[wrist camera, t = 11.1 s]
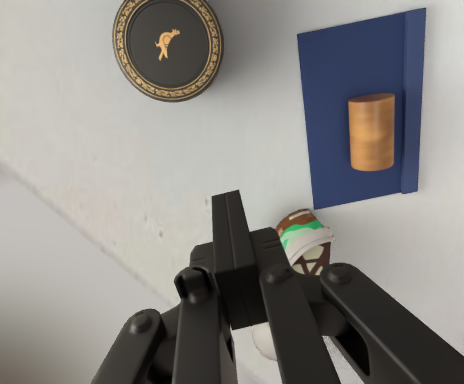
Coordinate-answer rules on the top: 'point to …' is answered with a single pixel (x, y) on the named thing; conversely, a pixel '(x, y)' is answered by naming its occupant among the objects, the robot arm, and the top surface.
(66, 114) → the top surface
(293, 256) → the food container
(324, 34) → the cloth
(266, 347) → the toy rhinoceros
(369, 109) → the roller
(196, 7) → the jar
